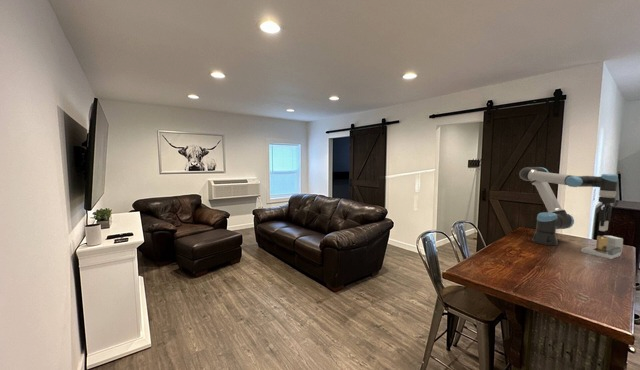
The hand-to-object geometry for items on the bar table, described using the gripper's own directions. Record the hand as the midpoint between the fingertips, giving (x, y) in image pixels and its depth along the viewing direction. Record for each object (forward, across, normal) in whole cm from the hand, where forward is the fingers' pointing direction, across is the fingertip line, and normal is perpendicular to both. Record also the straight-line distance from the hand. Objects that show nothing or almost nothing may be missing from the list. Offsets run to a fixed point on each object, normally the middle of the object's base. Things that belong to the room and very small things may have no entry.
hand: (603, 230), depth 179 cm
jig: (+17, 0, 0) cm, 17 cm away
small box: (+17, +14, -2) cm, 22 cm away
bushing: (+17, 0, 0) cm, 17 cm away
